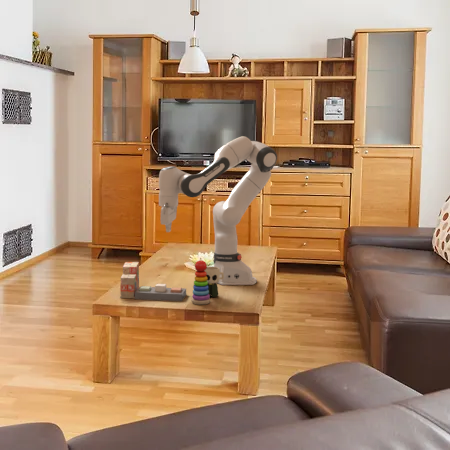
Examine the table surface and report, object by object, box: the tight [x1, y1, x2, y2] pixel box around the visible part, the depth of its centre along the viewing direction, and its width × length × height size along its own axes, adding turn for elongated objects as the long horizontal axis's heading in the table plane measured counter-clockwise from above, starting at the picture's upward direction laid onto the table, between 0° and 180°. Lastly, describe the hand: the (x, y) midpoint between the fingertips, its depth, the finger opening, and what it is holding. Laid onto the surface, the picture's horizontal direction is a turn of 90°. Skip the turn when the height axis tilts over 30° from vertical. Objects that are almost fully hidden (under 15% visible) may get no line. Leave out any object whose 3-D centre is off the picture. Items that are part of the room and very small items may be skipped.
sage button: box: [139, 285, 152, 291], centre depth 301 cm, size 4×4×3 cm
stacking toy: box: [191, 259, 211, 306], centre depth 290 cm, size 8×8×19 cm
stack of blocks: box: [119, 261, 140, 299], centre depth 307 cm, size 21×6×12 cm, turn 2°
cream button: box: [154, 283, 167, 292], centre depth 300 cm, size 4×4×3 cm
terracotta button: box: [171, 287, 183, 293], centre depth 299 cm, size 4×4×3 cm
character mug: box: [205, 266, 224, 298], centre depth 302 cm, size 11×7×13 cm, turn 88°
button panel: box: [134, 286, 187, 302], centre depth 300 cm, size 21×11×3 cm, turn 84°
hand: (168, 231), depth 313 cm, fingers closed
